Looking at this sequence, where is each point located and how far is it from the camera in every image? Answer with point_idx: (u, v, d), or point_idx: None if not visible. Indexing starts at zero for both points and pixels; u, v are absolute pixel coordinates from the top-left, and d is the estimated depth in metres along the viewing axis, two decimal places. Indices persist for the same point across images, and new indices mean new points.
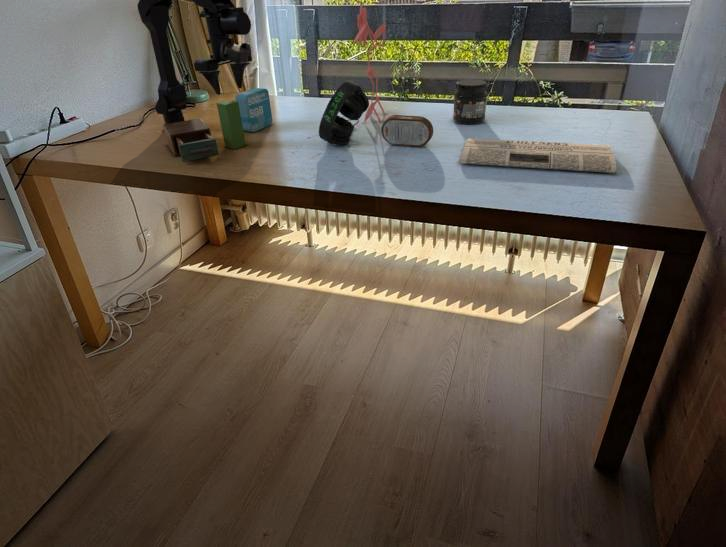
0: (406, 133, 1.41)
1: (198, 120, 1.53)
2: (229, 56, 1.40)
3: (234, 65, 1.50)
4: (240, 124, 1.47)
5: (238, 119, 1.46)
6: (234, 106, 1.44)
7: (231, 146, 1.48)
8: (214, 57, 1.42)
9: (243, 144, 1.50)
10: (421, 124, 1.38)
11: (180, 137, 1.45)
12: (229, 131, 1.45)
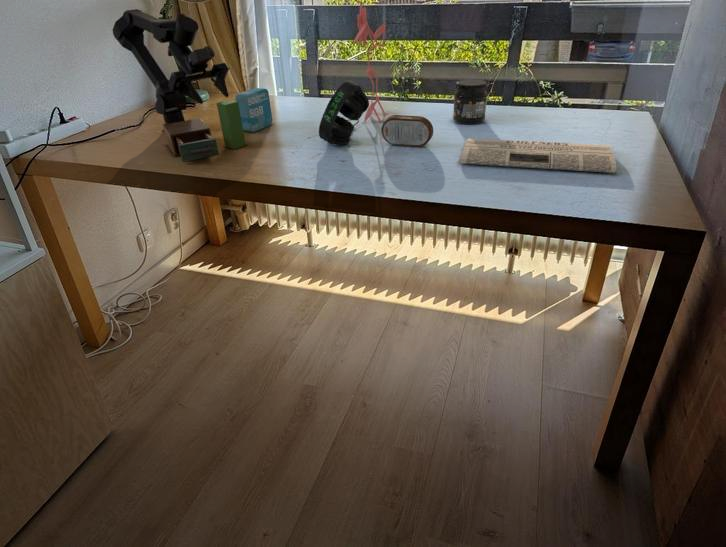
0: (406, 133, 1.41)
1: (198, 120, 1.53)
2: (192, 61, 1.42)
3: (216, 81, 1.51)
4: (240, 124, 1.47)
5: (238, 119, 1.46)
6: (234, 106, 1.44)
7: (231, 146, 1.48)
8: None
9: (243, 144, 1.50)
10: (421, 124, 1.38)
11: (180, 137, 1.45)
12: (229, 131, 1.45)
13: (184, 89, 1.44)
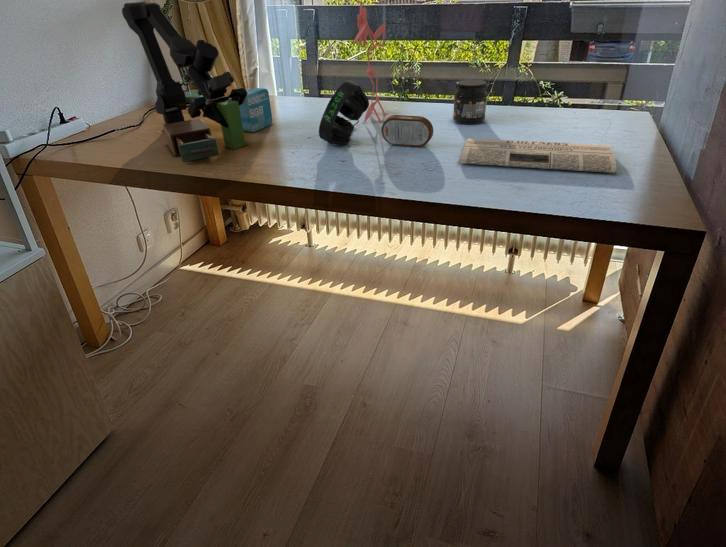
0: (406, 133, 1.41)
1: (198, 120, 1.53)
2: (212, 87, 1.41)
3: None
4: (240, 124, 1.47)
5: (238, 119, 1.46)
6: (235, 106, 1.44)
7: (231, 146, 1.48)
8: None
9: (243, 144, 1.50)
10: (421, 124, 1.38)
11: (180, 137, 1.45)
12: (229, 131, 1.45)
13: (210, 113, 1.45)
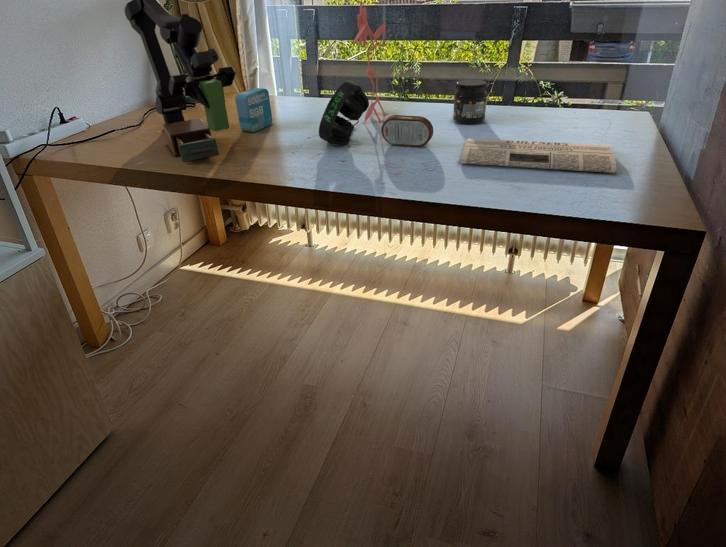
0: (406, 133, 1.41)
1: (198, 120, 1.53)
2: (194, 64, 1.34)
3: None
4: (223, 105, 1.39)
5: (221, 100, 1.38)
6: (217, 86, 1.35)
7: (213, 128, 1.40)
8: None
9: (226, 127, 1.42)
10: (421, 124, 1.38)
11: (180, 137, 1.45)
12: (210, 112, 1.38)
13: (192, 92, 1.38)
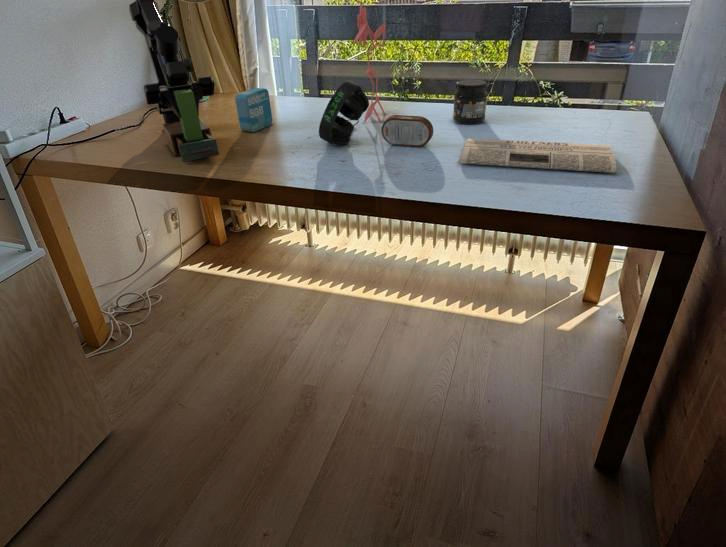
0: (406, 133, 1.41)
1: None
2: (168, 74, 1.33)
3: None
4: (196, 116, 1.37)
5: (193, 110, 1.36)
6: (188, 96, 1.33)
7: (186, 138, 1.39)
8: None
9: (200, 137, 1.40)
10: (421, 124, 1.38)
11: (180, 137, 1.45)
12: (182, 122, 1.36)
13: (168, 101, 1.37)
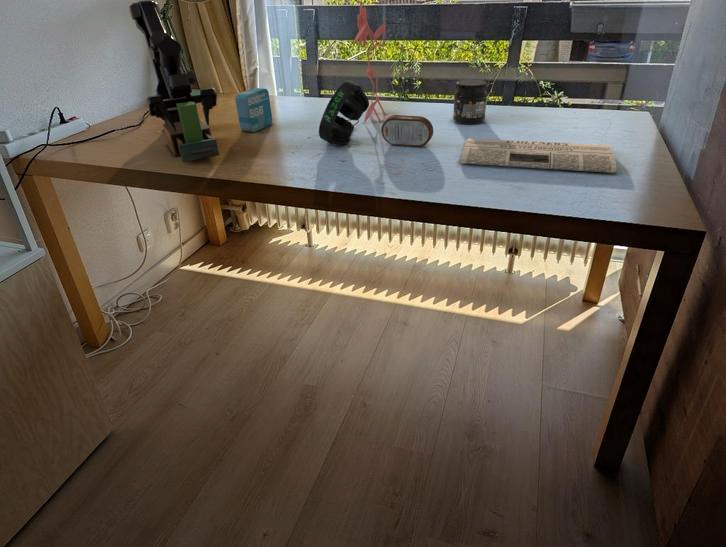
0: (406, 133, 1.41)
1: None
2: (171, 86, 1.34)
3: None
4: (198, 128, 1.38)
5: (196, 122, 1.37)
6: (191, 109, 1.35)
7: None
8: None
9: None
10: (421, 124, 1.38)
11: (180, 137, 1.45)
12: (185, 134, 1.38)
13: (162, 114, 1.38)
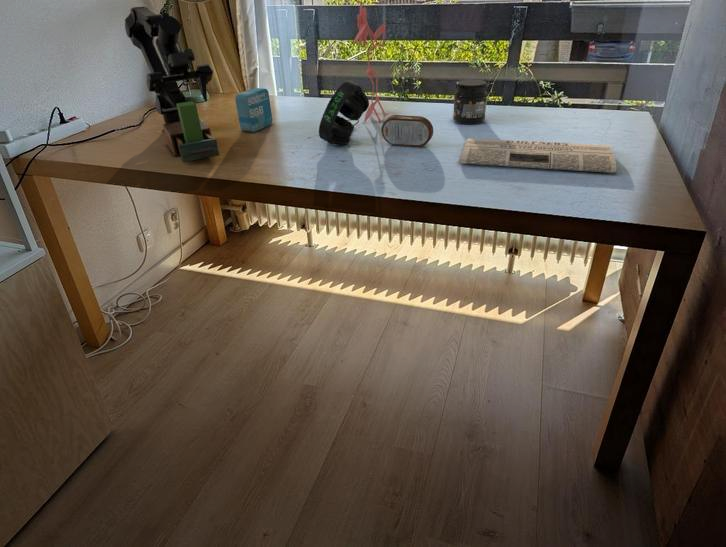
0: (406, 133, 1.41)
1: None
2: (170, 64, 1.40)
3: (199, 82, 1.48)
4: (198, 128, 1.38)
5: (196, 122, 1.37)
6: (191, 109, 1.35)
7: None
8: None
9: None
10: (421, 124, 1.38)
11: (180, 137, 1.45)
12: (185, 134, 1.38)
13: (161, 90, 1.43)
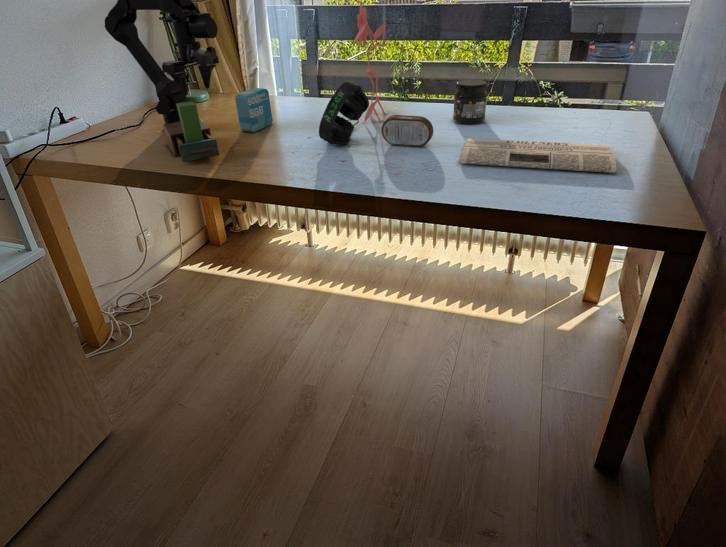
0: (406, 133, 1.41)
1: None
2: (195, 59, 1.49)
3: (202, 67, 1.59)
4: (198, 128, 1.38)
5: (196, 122, 1.37)
6: (191, 109, 1.35)
7: None
8: (181, 59, 1.51)
9: None
10: (421, 124, 1.38)
11: (180, 137, 1.45)
12: (185, 134, 1.38)
13: (175, 74, 1.51)
